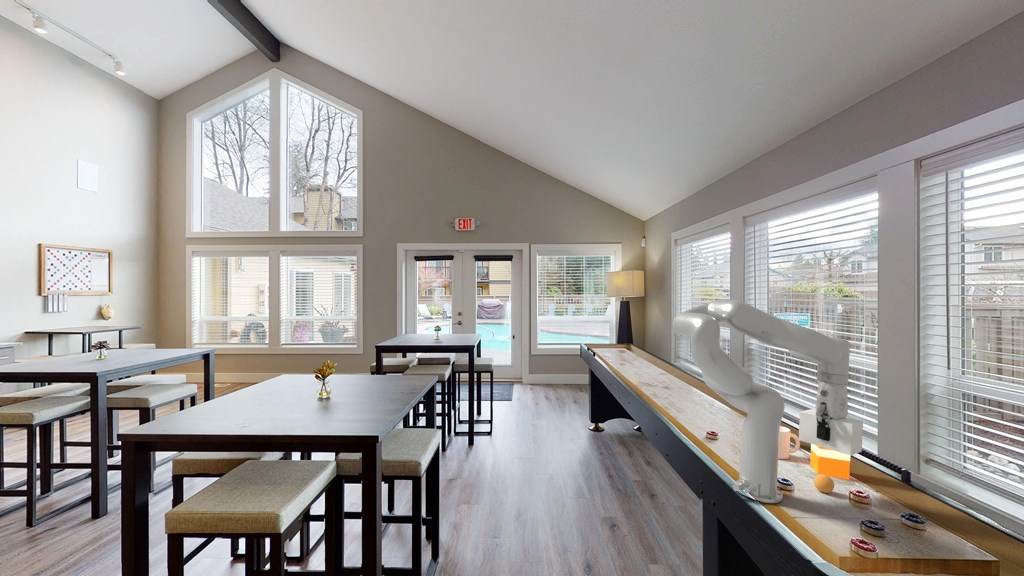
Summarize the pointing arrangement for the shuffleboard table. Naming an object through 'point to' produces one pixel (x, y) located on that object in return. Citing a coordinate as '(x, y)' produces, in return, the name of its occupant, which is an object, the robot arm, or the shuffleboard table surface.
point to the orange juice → (830, 462)
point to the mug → (786, 443)
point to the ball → (824, 483)
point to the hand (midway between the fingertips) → (829, 437)
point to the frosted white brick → (832, 433)
